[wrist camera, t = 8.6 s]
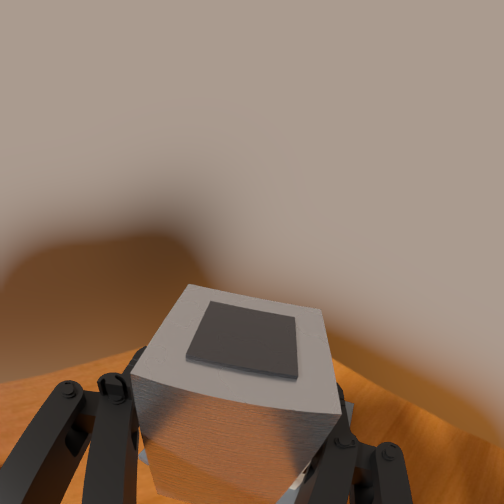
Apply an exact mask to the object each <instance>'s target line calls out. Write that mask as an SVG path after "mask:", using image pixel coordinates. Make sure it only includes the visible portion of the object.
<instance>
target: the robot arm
mask: <svg viewBox="0 0 504 504" xmlns="http://www.w3.org/2000/svg"><path fill="white" fill-rule="evenodd" d="M146 348H147V346H144V347H143V348H141V349H140V350H138V351H137V352H136V354H135V355H134V357H133V358H132V360H131V361H130V363H129V365H128V366H127V367H126V369H125V370H124V372H123V373H122V374H119V373H107V374H104V375H102V376H101V377H100V378H99V379H98V381H97V384H98V387H99V391H100V392H93V391H85V390H83V388H82V387H81V385H80V384H78V383H77V382H75V381H71V380H68V381H63V382H60V383H59V384H58V385H57V386H56V387H55V389H54V390H53V391H52V393H51V394H50V395H49V397H48V398H47V400H46V401H45V402H44V404H43V405H42V406H41V408H40V409H39V411H38V412H37V414H36V415H35V416H34V418H33V419H32V421H31V422H30V424H29V425H28V427H27V428H26V430H25V431H24V433H23V434H22V436H21V437H20V439H19V440H18V442H17V443H16V445H15V447H14V448H13V450H12V451H11V453H10V455H9V456H8V458H7V459H6V461H5V463H4V464H3V466H2V468H1V469H0V504H60V503H61V501H62V499H63V497H64V494H65V492H66V490H67V488H68V486H69V484H70V482H71V479H72V477H73V475H74V473H75V471H76V469H77V467H78V465H79V463H80V461H81V459H82V457H83V455H84V453H85V451H86V449H87V447H88V445H89V443H90V441H91V443H90V448H89V454H88V460H87V466H86V473H85V480H84V488H83V497H82V504H136V488H137V460H138V444H139V429H138V428H139V421H138V416H137V411H136V406H135V400H134V394H133V388H132V382H131V375H130V373H131V371H132V369H133V368H134V366H135V365H136V363H137V362H138V360H139V358H140V357H141V355H142V354H143V352H144V351H145V349H146ZM336 384H337V390H338V395H339V401H340V406H341V412H342V415H341V416H340V418H339V420H338V421H337V423H336V424H335V426H334V427H333V429H332V430H331V432H330V433H329V435H328V436H327V438H326V439H325V441H324V442H323V444H322V445H321V447H320V448H319V449H318V451H317V452H316V454H315V455H314V456H313V458H312V459H311V462H310V464H309V465H308V466H307V468H306V469H305V470H304V472H303V473H302V474H305V476H304V478H303V481H302V484H301V487H300V489H299V492H298V494H297V497H296V500H295V502H294V504H347V500H348V495H349V496H350V504H413V502H412V496H411V491H410V485H409V480H408V475H407V470H406V466H405V461H404V457H403V453H402V450H401V448H400V447H399V446H398V445H396V444H394V443H391V442H384V443H381V444H380V445H378V446H377V447H374V446H371V445H367V444H363V443H361V442H359V441H358V440H357V438H356V436H355V435H353V434H352V433H351V431H350V427H349V421H348V415H347V410H346V407H345V406H346V405H345V400H344V395H343V390H342V389H341V387H340V386H339V384H338V383H336Z"/></svg>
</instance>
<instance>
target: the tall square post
mask: <svg viewBox="0 0 504 504" xmlns="http://www.w3.org/2000/svg"><path fill="white" fill-rule="evenodd" d="M130 375H131V382H132V388H133V394H134V400H135V406H136V411H137V416H138V421H139V426H140V430H141V435H142V439H143V443H144V448H145V452H146V455H147V459H148V463H149V467H150V470H151V474H152V477H153V480H154V484H155V487H156V490H157V493H158V494H160V495H163V496H166V497H170V498H173V499H177V500H180V501H184V502H188V503H192V504H276V502H277V501H278V500H279V499H280V498H281V497H282V496H283V494H284V493H285V492H286V491H287V490H288V489H289V487H290V486H291V485H292V484H293V482H294V481H295V480H296V479H297V477H298V476H299V475H300V474H301V472H302V471H303V470H304V468H305V467H306V466H307V465H308V463H309V462H310V461H311V459H312V458H313V456H314V455H315V454H316V452H317V451H318V449H319V448H320V447H321V445H322V444H323V442H324V441H325V439H326V438H327V436H328V435H329V433H330V432H331V430H332V429H333V427H334V426H335V424H336V423H337V421H338V420H339V418H340V416H341V415H342V412H341V406H340V401H339V395H338V390H337V384H336V379H335V374H334V369H333V364H332V359H331V354H330V349H329V344H328V339H327V335H326V330H325V326H324V321H323V317H322V313H321V310H320V309H315V308H309V307H303V306H297V305H292V304H286V303H280V302H275V301H270V300H264V299H259V298H254V297H248V296H244V295H239V294H234V293H229V292H224V291H219V290H214V289H209V288H205V287H201V286H195V285H191V284H188V286H187V287H186V289H185V290H184V292H183V293H182V295H181V296H180V298H179V299H178V301H177V302H176V304H175V305H174V307H173V308H172V310H171V311H170V313H169V314H168V316H167V317H166V319H165V320H164V322H163V323H162V325H161V326H160V328H159V329H158V331H157V332H156V334H155V335H154V337H153V338H152V340H151V341H150V343H149V344H148V346H147V348H146V349H145V351H144V352H143V354H142V355H141V357H140V358H139V360H138V362H137V363H136V365H135V366H134V368H133V369H132V371H131V373H130Z"/></svg>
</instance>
